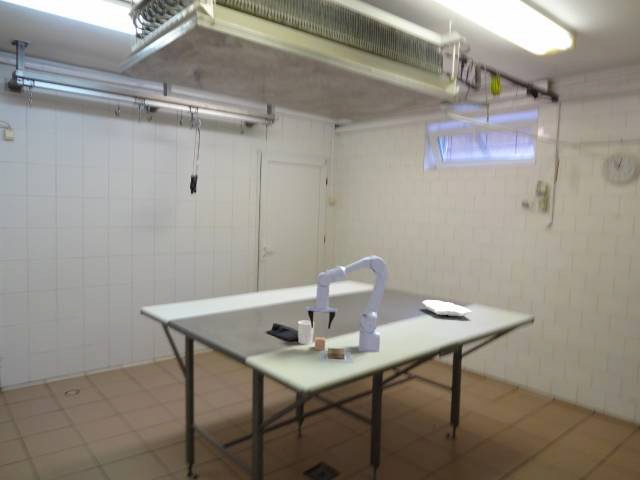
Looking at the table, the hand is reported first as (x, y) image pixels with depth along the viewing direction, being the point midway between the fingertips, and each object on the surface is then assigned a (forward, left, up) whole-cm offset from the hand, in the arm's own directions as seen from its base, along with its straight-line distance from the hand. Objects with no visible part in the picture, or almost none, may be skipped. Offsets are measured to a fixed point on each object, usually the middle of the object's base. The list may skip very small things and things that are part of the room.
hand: (320, 327), depth 214 cm
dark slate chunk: (+16, -21, -11) cm, 28 cm away
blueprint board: (-7, +10, -10) cm, 16 cm away
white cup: (+7, -9, -10) cm, 15 cm away
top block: (0, 0, -10) cm, 10 cm away
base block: (-7, +10, -10) cm, 16 cm away
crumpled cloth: (-80, -79, -10) cm, 113 cm away
